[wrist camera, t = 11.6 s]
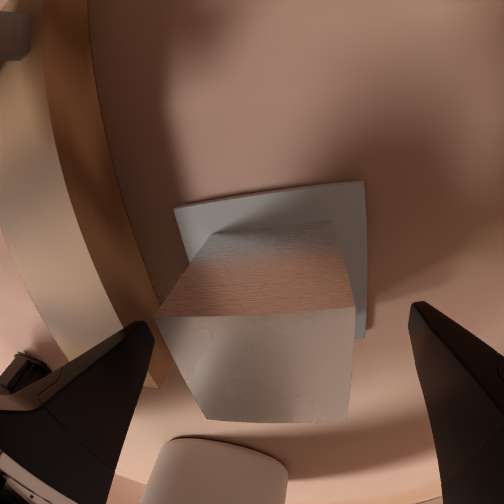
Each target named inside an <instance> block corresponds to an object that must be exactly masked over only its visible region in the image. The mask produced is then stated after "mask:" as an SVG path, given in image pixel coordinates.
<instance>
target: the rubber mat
mask: <svg viewBox="0 0 504 504" xmlns="http://www.w3.org/2000/svg"><path fill="white" fill-rule="evenodd" d="M173 210H174V213H175V217H176V220H177V224H178V227H179V230H180V234H181V237H182V241H183V244H184V247H185V250H186V254H187V257H188V260H189V263H191V261H192V260H193V258H194V257H195V255H196V254H197V253H198V251H199V250H200V248H201V247H202V246H203V244H204V243H205V241H206V240H207V239H208V237H209V236H210V234H213V233H221V232H229V231H238V230H246V229H255V228H263V227H272V226H281V225H290V224H300V223H309V222H319V221H329V220H333V223H334V227H335V230H336V234H337V237H338V240H339V244H340V248H341V251H342V255H343V258H344V262H345V266H346V270H347V274H348V278H349V281H350V286H351V290H352V294H353V298H354V302H355V307H356V309H355V334H354V339H358V338H365V329H366V312H367V281H368V249H367V218H366V200H365V187H364V182H363V181H362V180H360V181H349V182H339V183H329V184H320V185H311V186H303V187H295V188H287V189H280V190H272V191H265V192H258V193H251V194H245V195H238V196H232V197H226V198H220V199H214V200H208V201H202V202H197V203H191V204H186V205H180V206H177V207H176V208H174V209H173Z"/></svg>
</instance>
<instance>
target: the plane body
mask: <svg viewBox="0 0 504 504" xmlns="http://www.w3.org/2000/svg"><path fill="white" fill-rule="evenodd" d="M0 227H1V230H2V233H3V236H4V239H5V241H6V244H7V246H8V249H9V251H10V254H11V256H12V259H13V261H14V264H15V266H16V268H17V270H18V273H19V275H20V277H21V279H22V281H23V283H24V285H25V287H26V289H27V291H28V293H29V295H30V297H31V299H32V301H33V303H34V305H35V307H36V309H37V311H38V312H39V314H40V316H41V318H42V319H43V321H44V323H45V325H46V326H47V328H48V330H49V331H50V333H51V335H52V336H53V338H54V339H55V341H56V343H57V344H58V346H59V347H60V349H61V350H62V352H63V353H64V355H65V356H66V358H67V359H68V361H69V362H70V361H72V360H73V359H75V358H77V357H78V356H80V355H81V354H83V353H85V352H86V351H88V350H89V349H91V348H92V347H94V346H96V345H97V344H99V343H100V342H102V341H104V340H105V339H107V338H108V337H110V336H112V335H113V334H115V333H116V332H118V331H120V330H121V329H123V328H124V327H126V326H128V325H129V324H131V323H132V322H134V321H146V322H147V324H148V325H149V328H150V330H151V332H152V334H153V336H154V338H155V345H154V349H153V353H152V356H151V360H150V364H149V368H148V372H147V376H146V379H145V382H144V385H143V387H150V388H157V389H159V388H160V386H161V384H162V382H163V380H164V378H165V376H166V373H167V371H168V369H169V367H170V365H171V363H172V361H173V357H172V355H171V353H170V351H169V349H168V347H167V345H166V343H165V341H164V339H163V336H162V334H161V332H160V330H159V328H158V326H157V324H156V321H155V319H154V315H155V314H156V312H157V311H158V309H159V308H160V306H161V305H160V303H159V300H158V298H157V295H156V293H155V290H154V288H153V285H152V283H151V280H150V278H149V275H148V273H147V270H146V267H145V265H144V262H143V259H142V256H141V254H140V251H139V248H138V245H137V242H136V240H135V237H134V234H133V231H132V228H131V225H130V222H129V218H128V215H127V212H126V209H125V206H124V202H123V199H122V196H121V192H120V189H119V185H118V182H117V178H116V175H115V171H114V167H113V163H112V159H111V155H110V151H109V147H108V143H107V139H106V134H105V130H104V125H103V121H102V116H101V111H100V106H99V100H98V95H97V89H96V83H95V76H94V70H93V62H92V55H91V46H90V36H89V25H88V10H87V0H9V1H8V2H7V3H6V4H5V5H4V6H3V7H2V9H1V10H0Z"/></svg>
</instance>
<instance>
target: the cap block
mask: <svg viewBox="0 0 504 504" xmlns="http://www.w3.org/2000/svg"><path fill="white" fill-rule="evenodd" d="M355 309H356V307H355V302H354V298H353V294H352V290H351V286H350V281H349V278H348V274H347V270H346V266H345V262H344V258H343V255H342V251H341V248H340V244H339V240H338V237H337V234H336V230H335V227H334V223H333V220H329V221H319V222H309V223H300V224H290V225H281V226H272V227H263V228H255V229H246V230H238V231H229V232H221V233H213V234H210V236H209V237H208V239H207V240H206V241H205V243H204V244H203V246H202V247H201V248H200V250H199V251H198V253H197V254H196V255H195V257H194V258H193V260H192V261H191V263H190V264H189V265H188V267H187V268H186V270H185V271H184V273H183V274H182V275H181V277H180V278H179V280H178V281H177V283H176V284H175V286H174V287H173V288H172V290H171V291H170V293H169V294H168V296H167V297H166V299H165V300H164V302H163V303H162V305H161V306H160V308H159V309H158V311H157V312H156V314H155V315H154V319H155V321H156V324H157V326H158V328H159V330H160V332H161V334H162V336H163V339H164V341H165V343H166V345H167V347H168V349H169V351H170V353H171V355H172V357H173V359H174V361H175V363H176V365H177V367H178V369H179V371H180V373H181V375H182V376H183V378H184V380H185V382H186V384H187V386H188V388H189V389H190V391H191V393H192V395H193V397H194V398H195V400H196V402H197V404H198V405H199V407H200V409H201V410H202V412H203V414H204V416H205V417H206V419H210V420H220V421H233V422H251V423H309V422H327V421H340V420H347V412H348V404H349V396H350V387H351V376H352V365H353V351H354V334H355Z"/></svg>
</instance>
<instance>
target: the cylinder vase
mask: <svg viewBox="0 0 504 504" xmlns="http://www.w3.org/2000/svg"><path fill="white" fill-rule="evenodd" d="M287 482H288V472H287V470H286V468H285V467H284V466H283V465H282V464H281V463H280V462H279V461H277V460H276V459H274V458H272V457H270V456H268V455H265V454H263V453H260V452H258V451H255V450H252V449H249V448H245V447H241V446H238V445H233V444H229V443H224V442H219V441H213V440H206V439H195V438H182V439H175V440H171V441H169V442H167V443H165V444H164V445H163V446H162V448H161V450H160V452H159V455H158V458H157V460H156V463H155V465H154V468H153V470H152V473H151V475H150V478H149V480H148V483H147V485H146V488H145V491H144V493H143V496H142V498H141V501H140V503H139V504H285V498H286V490H287Z"/></svg>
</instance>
